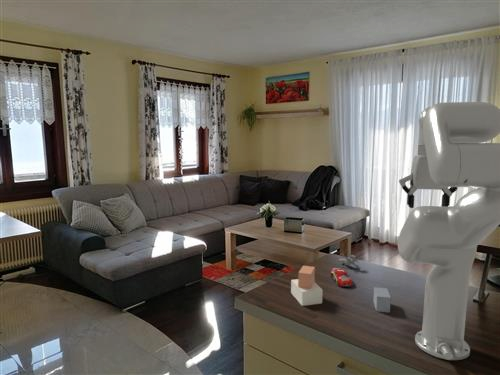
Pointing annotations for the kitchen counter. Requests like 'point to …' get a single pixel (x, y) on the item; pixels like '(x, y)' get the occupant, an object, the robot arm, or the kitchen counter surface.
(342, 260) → the elephant figurine
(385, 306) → the slate brick
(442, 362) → the kitchen counter surface
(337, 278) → the race car
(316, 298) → the cream brick
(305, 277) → the terracotta brick
